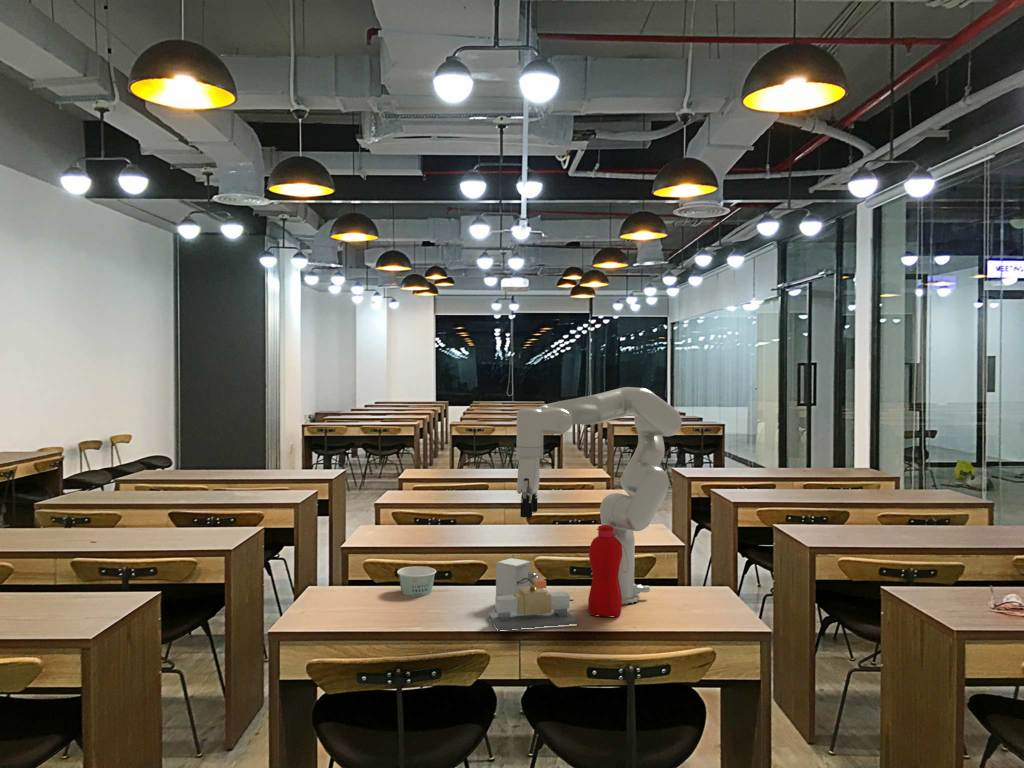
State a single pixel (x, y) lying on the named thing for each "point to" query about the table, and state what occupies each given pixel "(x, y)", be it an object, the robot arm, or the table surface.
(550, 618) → the mounting board
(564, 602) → the pipe valve
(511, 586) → the supplement box
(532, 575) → the valve lever
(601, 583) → the water bottle
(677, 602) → the table surface
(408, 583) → the food container
